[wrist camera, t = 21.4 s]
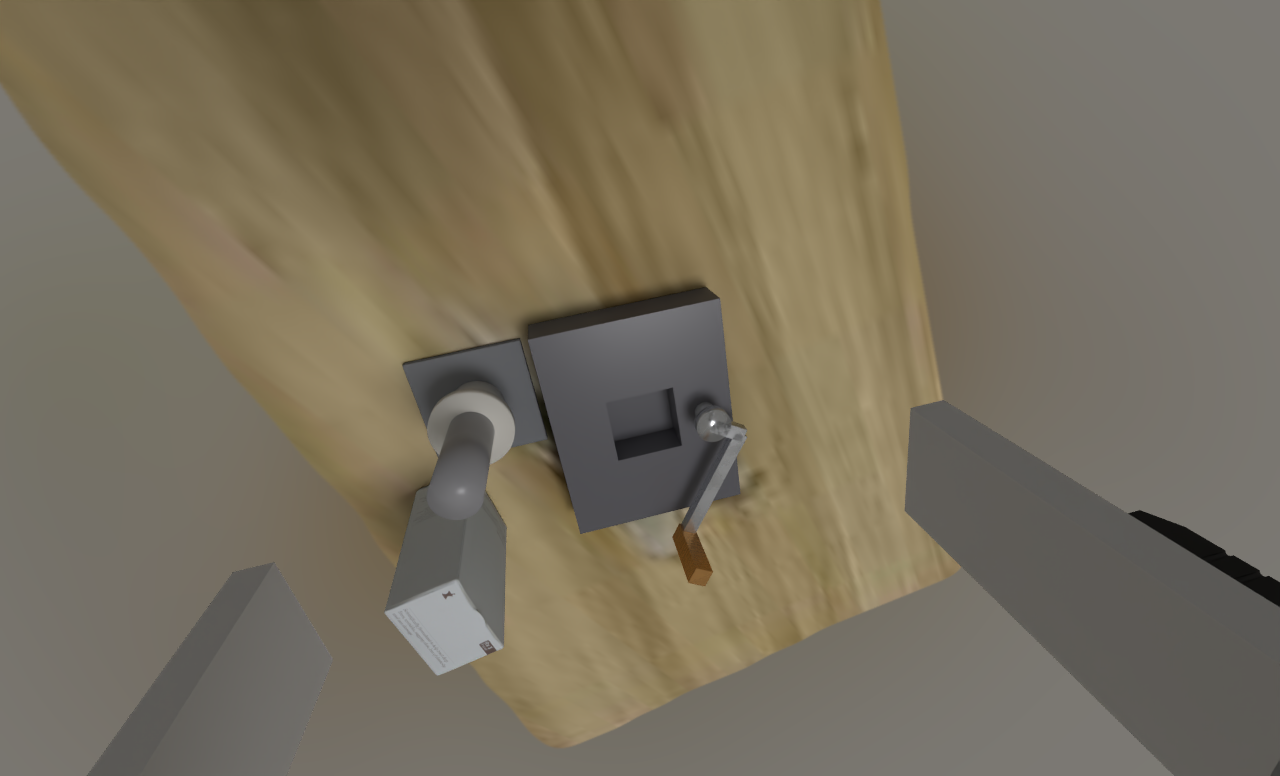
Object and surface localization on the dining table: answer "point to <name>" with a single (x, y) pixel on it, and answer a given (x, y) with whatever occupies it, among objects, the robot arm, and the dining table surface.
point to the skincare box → (450, 585)
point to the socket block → (634, 403)
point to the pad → (488, 365)
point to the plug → (467, 447)
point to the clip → (707, 489)
